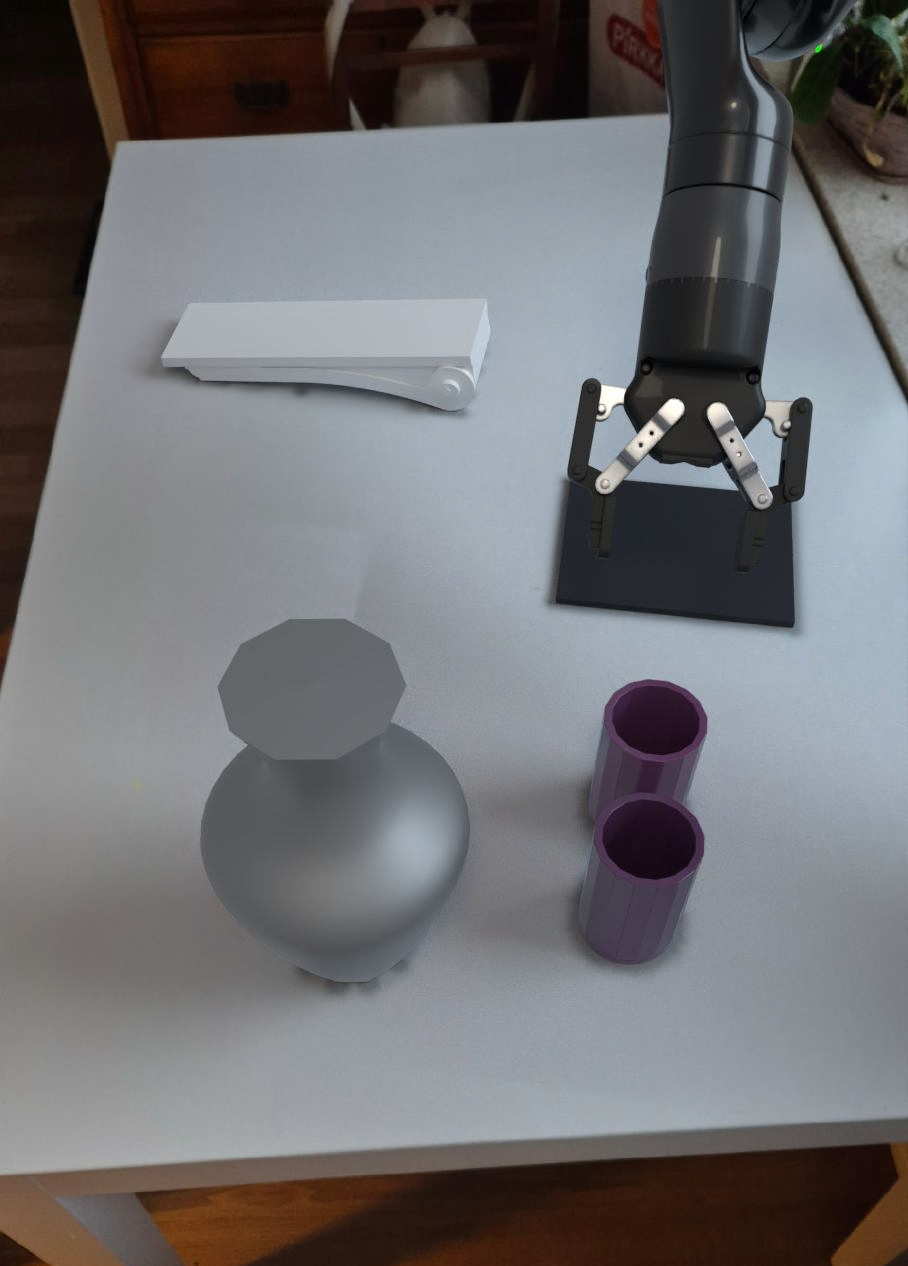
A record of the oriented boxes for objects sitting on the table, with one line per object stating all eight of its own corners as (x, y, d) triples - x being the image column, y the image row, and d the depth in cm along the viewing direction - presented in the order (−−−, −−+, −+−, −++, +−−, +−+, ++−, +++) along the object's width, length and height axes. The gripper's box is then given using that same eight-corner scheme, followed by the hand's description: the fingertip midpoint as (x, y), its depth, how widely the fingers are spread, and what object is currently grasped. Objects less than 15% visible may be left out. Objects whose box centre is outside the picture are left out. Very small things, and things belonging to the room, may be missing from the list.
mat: (789, 500, 93) (791, 495, 93) (793, 627, 86) (795, 622, 85) (570, 480, 95) (571, 474, 94) (555, 603, 87) (556, 598, 87)
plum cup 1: (681, 777, 78) (708, 685, 70) (678, 853, 75) (706, 766, 67) (591, 766, 79) (607, 674, 70) (584, 842, 76) (600, 754, 67)
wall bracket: (188, 426, 107) (480, 429, 101) (156, 373, 100) (467, 372, 94) (211, 340, 110) (495, 338, 104) (181, 282, 103) (483, 276, 97)
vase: (228, 1044, 68) (125, 821, 47) (250, 839, 76) (171, 568, 55) (469, 1043, 68) (474, 819, 47) (467, 838, 76) (470, 567, 55)
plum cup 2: (677, 883, 74) (705, 799, 65) (674, 970, 70) (703, 893, 62) (582, 872, 74) (597, 786, 66) (574, 958, 71) (590, 879, 63)
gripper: (590, 261, 64) (556, 553, 68) (846, 281, 63) (799, 578, 67) (588, 293, 72) (558, 555, 75) (818, 311, 71) (776, 577, 74)
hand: (671, 565), depth 71 cm, fingers open, 8 cm apart
